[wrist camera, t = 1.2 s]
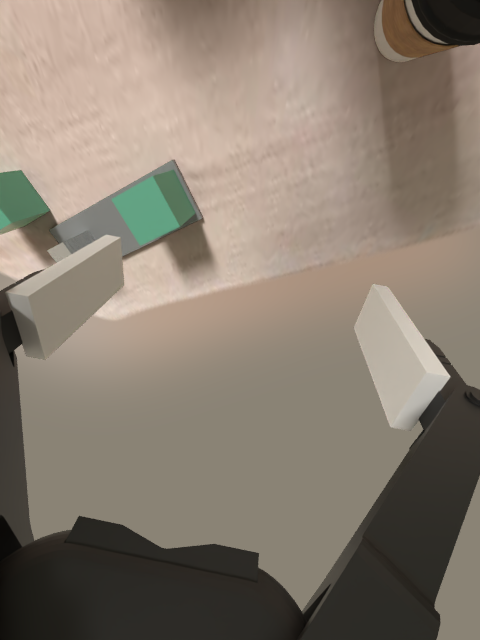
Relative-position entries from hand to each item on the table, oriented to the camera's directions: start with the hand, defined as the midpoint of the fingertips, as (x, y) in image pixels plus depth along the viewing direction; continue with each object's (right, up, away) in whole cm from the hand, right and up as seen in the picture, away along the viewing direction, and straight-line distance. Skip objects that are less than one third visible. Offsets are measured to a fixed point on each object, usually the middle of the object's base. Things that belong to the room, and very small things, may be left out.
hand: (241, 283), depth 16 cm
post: (-20, +9, +25) cm, 33 cm away
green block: (-28, +14, +23) cm, 39 cm away
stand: (-15, +11, +23) cm, 29 cm away
